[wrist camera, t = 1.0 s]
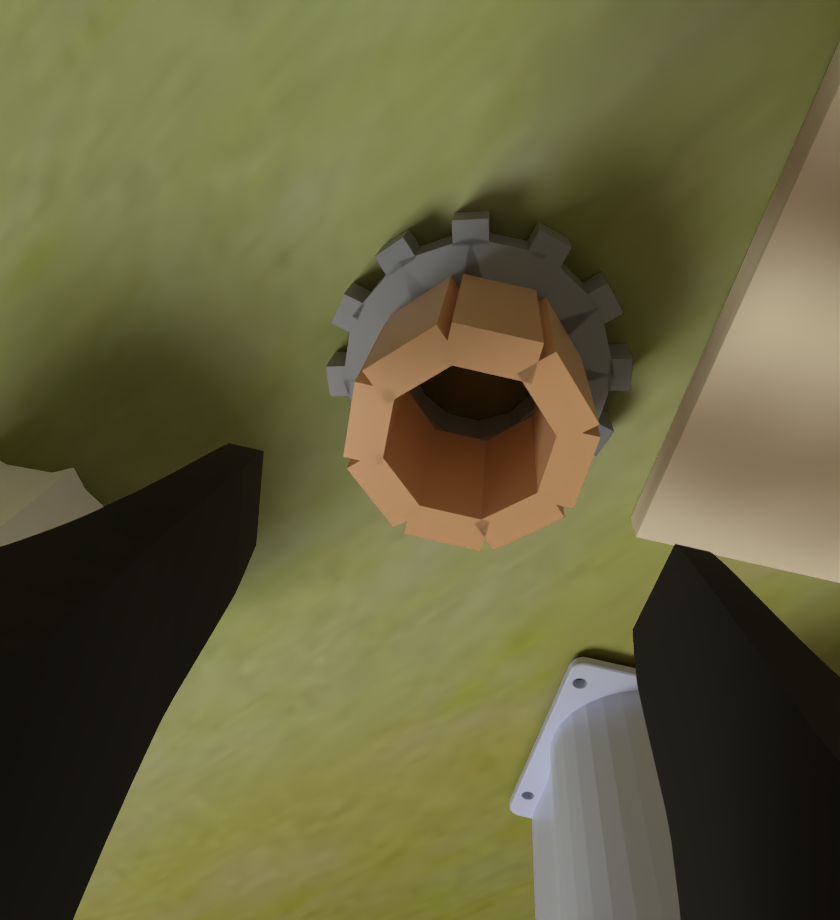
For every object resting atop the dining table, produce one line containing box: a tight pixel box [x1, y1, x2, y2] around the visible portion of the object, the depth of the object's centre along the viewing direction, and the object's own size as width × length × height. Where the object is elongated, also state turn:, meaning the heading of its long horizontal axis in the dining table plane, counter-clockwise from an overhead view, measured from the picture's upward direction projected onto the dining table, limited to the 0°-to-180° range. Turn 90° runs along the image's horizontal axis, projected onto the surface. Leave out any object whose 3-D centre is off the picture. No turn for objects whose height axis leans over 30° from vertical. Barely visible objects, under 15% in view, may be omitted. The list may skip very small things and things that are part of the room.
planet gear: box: [326, 211, 633, 551], centre depth 17 cm, size 8×8×5 cm
